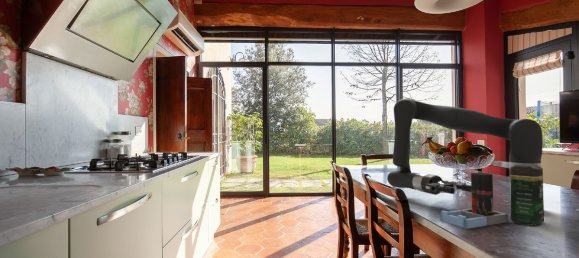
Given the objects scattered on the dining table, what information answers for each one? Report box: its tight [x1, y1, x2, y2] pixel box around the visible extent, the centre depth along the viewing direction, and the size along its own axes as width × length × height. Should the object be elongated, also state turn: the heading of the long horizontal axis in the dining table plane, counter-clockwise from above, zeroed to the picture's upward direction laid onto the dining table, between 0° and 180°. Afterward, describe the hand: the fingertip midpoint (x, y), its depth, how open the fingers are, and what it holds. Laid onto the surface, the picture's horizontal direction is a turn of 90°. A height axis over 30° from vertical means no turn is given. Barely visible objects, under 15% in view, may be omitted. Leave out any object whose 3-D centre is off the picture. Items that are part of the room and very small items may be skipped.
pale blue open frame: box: [439, 208, 509, 230], centre depth 96 cm, size 18×10×3 cm, turn 110°
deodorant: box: [470, 172, 495, 216], centre depth 97 cm, size 6×6×15 cm
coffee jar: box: [509, 163, 545, 227], centre depth 94 cm, size 10×8×19 cm
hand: (463, 190), depth 104 cm, fingers open, 8 cm apart
